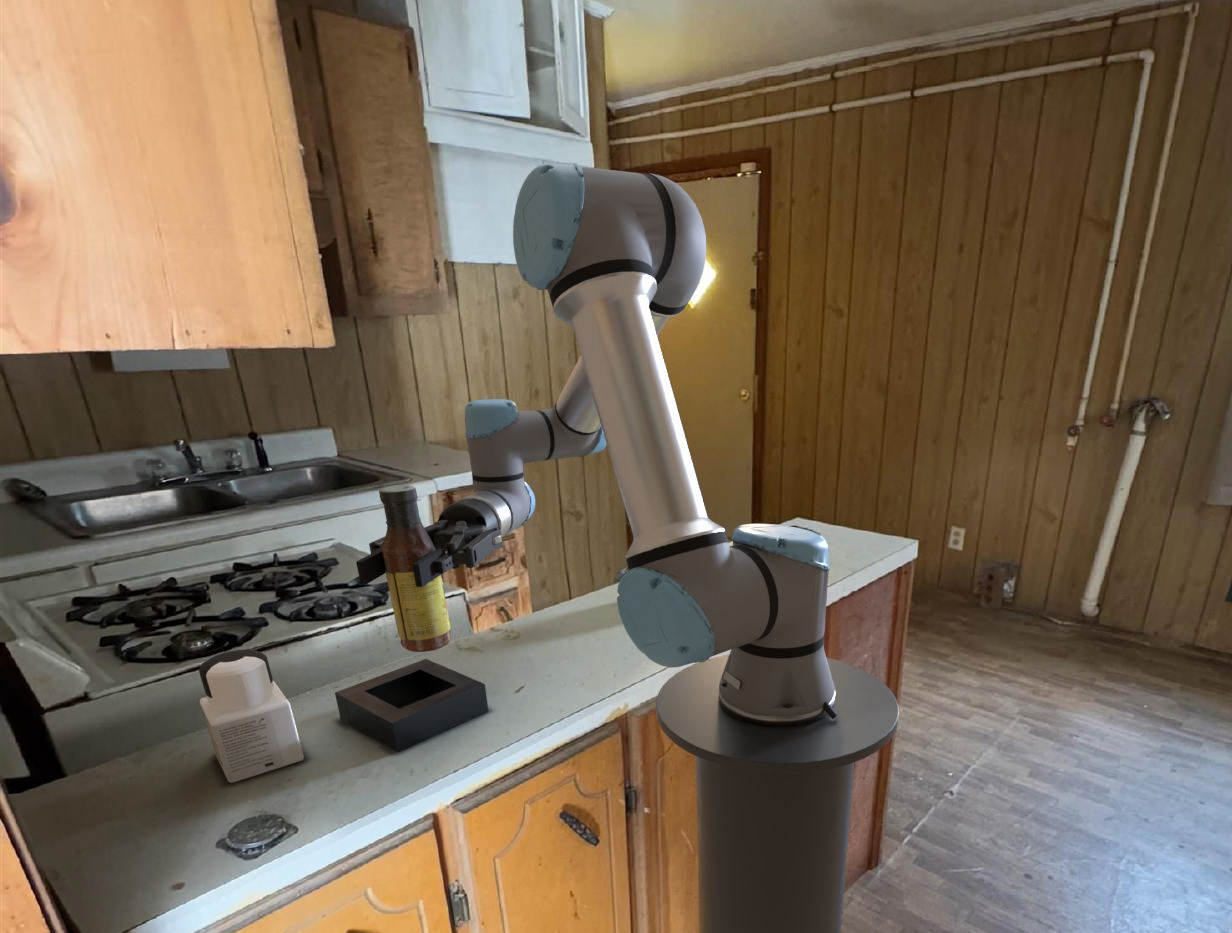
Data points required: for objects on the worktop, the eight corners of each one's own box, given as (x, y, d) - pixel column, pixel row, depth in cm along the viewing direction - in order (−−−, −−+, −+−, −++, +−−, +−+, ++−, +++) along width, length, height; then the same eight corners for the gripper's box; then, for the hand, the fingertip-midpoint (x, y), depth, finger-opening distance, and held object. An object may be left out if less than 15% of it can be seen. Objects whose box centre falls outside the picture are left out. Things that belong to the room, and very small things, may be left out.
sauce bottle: (462, 640, 100) (441, 485, 92) (427, 658, 95) (401, 496, 87) (424, 631, 103) (400, 480, 94) (387, 648, 97) (358, 490, 89)
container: (216, 756, 91) (184, 655, 86) (288, 735, 96) (262, 637, 90) (229, 785, 86) (196, 678, 80) (305, 761, 90) (279, 658, 85)
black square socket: (488, 711, 101) (485, 683, 100) (397, 752, 92) (392, 723, 90) (430, 684, 109) (426, 658, 107) (340, 720, 99) (334, 692, 98)
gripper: (541, 551, 111) (472, 608, 90) (415, 546, 113) (319, 601, 92) (536, 499, 108) (463, 545, 87) (406, 495, 110) (305, 539, 89)
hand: (389, 574), depth 90 cm, fingers closed on sauce bottle, 6 cm apart
